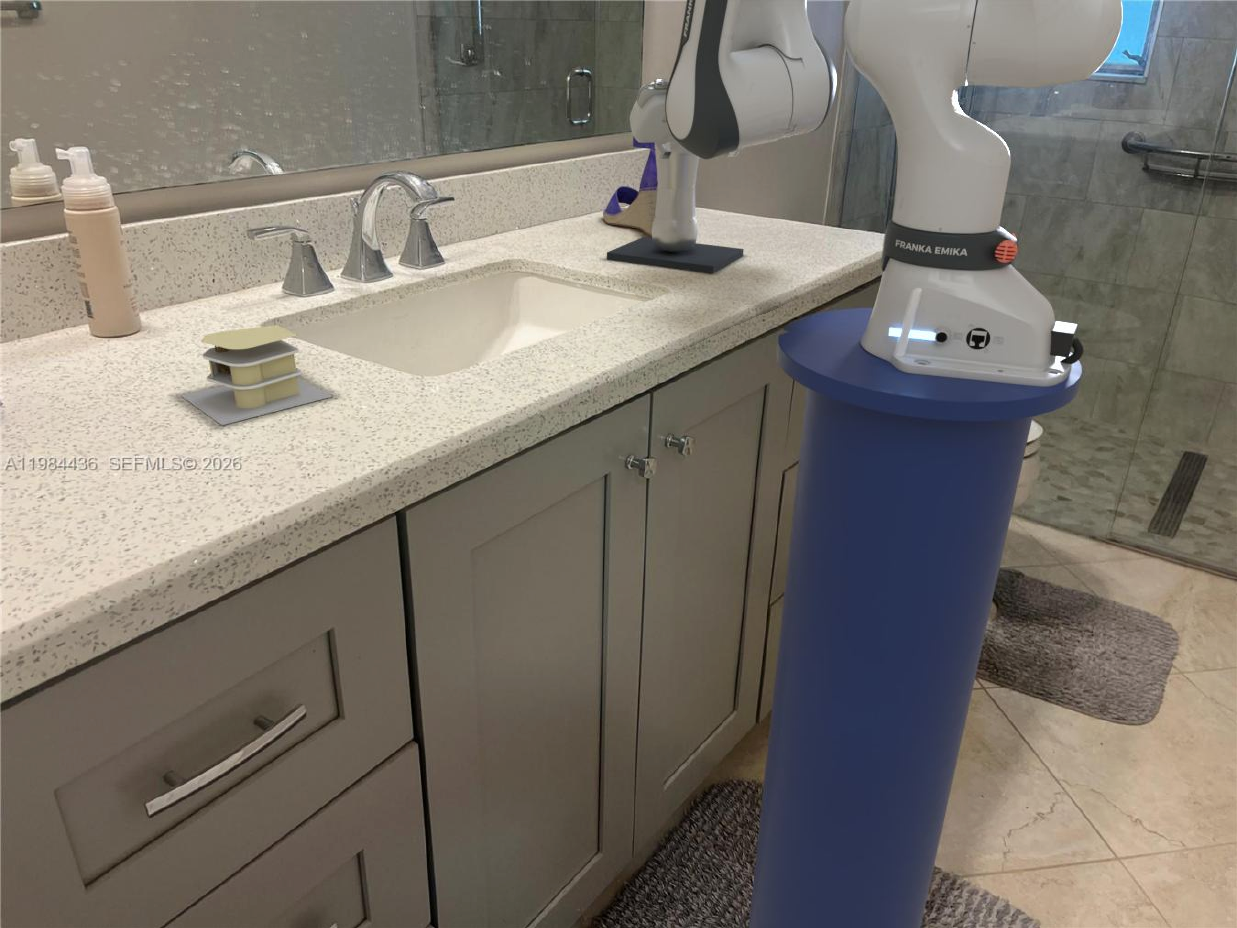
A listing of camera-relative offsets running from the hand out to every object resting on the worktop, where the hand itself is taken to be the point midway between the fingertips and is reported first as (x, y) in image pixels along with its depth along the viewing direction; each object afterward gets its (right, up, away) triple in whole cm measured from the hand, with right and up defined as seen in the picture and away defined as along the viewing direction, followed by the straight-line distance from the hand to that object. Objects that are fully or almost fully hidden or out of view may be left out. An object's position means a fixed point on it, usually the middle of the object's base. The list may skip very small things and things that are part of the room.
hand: (696, 153), depth 125 cm
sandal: (-7, -3, +29) cm, 30 cm away
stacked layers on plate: (-42, -35, -40) cm, 68 cm away
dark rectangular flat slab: (-2, -11, +10) cm, 16 cm away
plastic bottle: (-2, -11, +10) cm, 15 cm away
